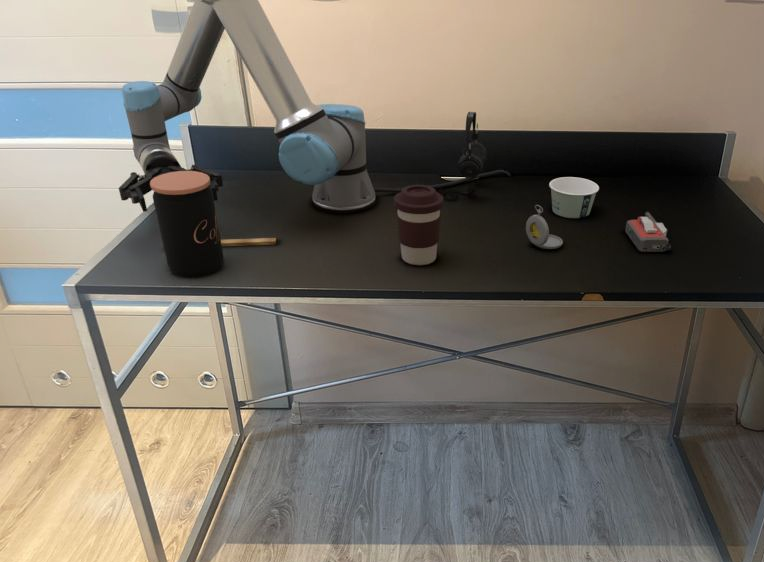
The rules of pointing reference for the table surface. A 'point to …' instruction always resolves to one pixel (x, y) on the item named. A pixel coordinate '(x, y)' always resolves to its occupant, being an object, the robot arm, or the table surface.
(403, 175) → the table surface
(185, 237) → the coffee jar
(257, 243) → the tan flat long part
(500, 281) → the table surface
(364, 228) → the table surface
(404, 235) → the coffee cup
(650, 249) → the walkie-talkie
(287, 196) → the table surface
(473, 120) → the headphones
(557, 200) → the food container
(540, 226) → the pocket watch
